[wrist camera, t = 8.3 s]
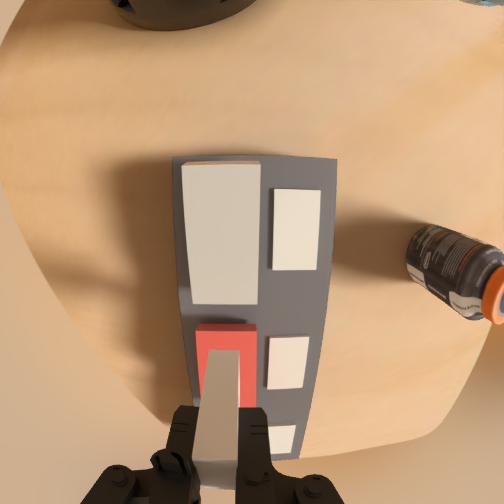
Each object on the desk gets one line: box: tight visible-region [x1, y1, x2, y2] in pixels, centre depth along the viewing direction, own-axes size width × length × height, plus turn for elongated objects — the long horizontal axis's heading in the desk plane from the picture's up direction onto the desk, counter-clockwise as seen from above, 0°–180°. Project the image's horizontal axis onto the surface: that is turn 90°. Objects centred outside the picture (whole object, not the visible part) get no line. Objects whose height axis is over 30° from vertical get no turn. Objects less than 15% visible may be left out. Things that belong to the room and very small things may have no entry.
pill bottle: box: [406, 225, 504, 325], centre depth 18 cm, size 6×6×11 cm
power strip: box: [172, 155, 337, 461], centre depth 22 cm, size 29×10×6 cm, turn 0°
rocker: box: [182, 161, 261, 304], centre depth 15 cm, size 8×4×1 cm, turn 0°
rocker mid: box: [196, 323, 257, 407], centre depth 18 cm, size 8×4×1 cm, turn 0°
